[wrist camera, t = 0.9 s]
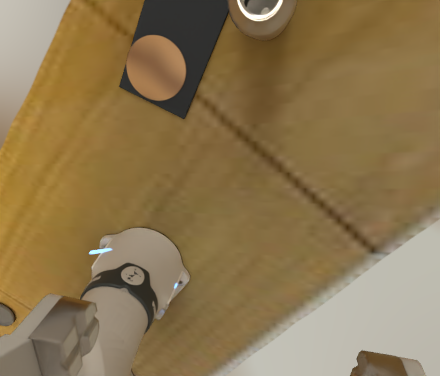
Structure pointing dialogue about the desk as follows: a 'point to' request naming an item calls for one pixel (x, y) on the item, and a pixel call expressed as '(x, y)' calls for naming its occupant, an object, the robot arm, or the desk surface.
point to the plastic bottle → (261, 16)
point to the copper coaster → (156, 67)
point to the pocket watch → (6, 316)
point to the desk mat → (182, 41)
